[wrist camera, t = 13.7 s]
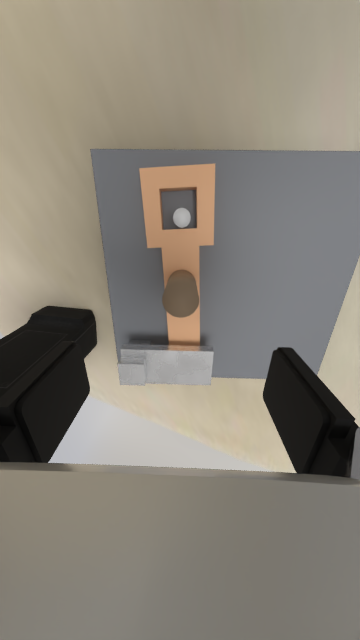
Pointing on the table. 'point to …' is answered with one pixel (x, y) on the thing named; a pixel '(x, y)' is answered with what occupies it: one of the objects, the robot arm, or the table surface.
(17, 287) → the table surface
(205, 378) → the keeper
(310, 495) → the robot arm
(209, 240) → the link
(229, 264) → the pintle board
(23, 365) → the portable radio
